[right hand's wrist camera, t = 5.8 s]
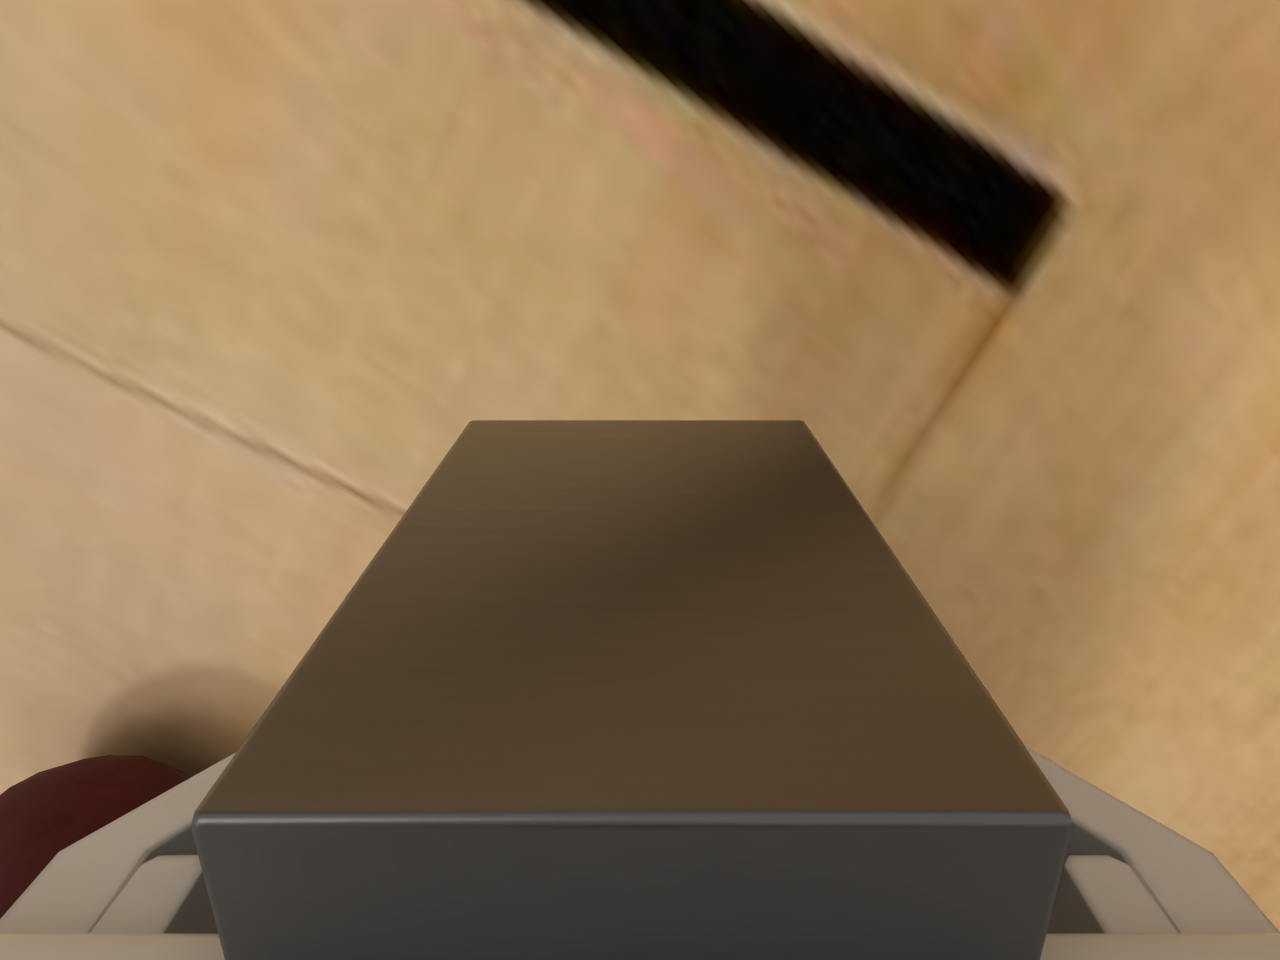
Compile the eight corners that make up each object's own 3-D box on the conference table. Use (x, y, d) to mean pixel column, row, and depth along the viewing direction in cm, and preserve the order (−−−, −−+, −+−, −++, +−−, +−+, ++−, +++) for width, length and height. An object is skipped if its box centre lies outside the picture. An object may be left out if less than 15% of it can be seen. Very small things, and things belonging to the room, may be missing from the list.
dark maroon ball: (292, 891, 27) (172, 1120, 20) (69, 890, 27) (-122, 1115, 21) (251, 709, 24) (99, 902, 18) (5, 710, 25) (-235, 900, 18)
